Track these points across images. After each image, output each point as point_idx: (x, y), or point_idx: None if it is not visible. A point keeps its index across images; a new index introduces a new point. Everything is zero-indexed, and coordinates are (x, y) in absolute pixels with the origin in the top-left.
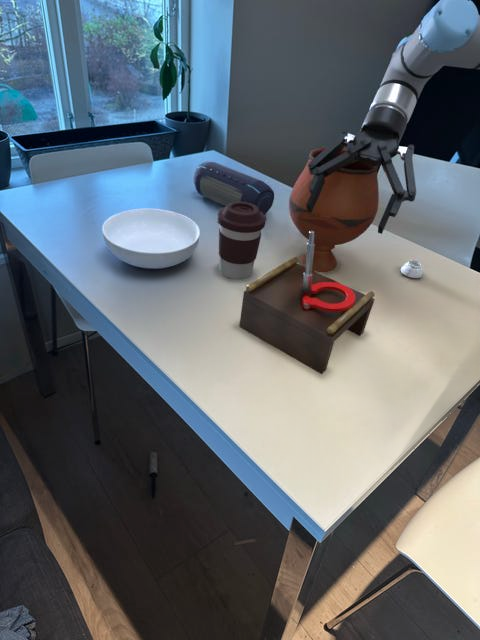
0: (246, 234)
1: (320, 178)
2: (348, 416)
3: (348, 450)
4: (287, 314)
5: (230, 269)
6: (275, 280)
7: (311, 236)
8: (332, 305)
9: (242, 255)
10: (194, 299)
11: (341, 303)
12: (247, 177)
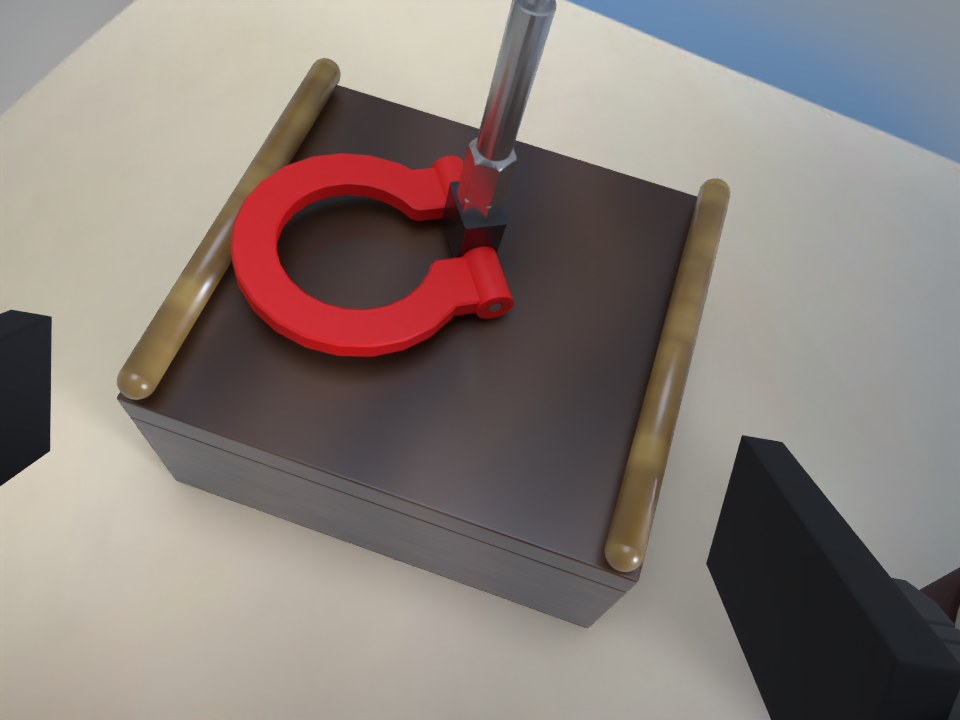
0: None
1: (892, 618)
2: (235, 88)
3: (233, 7)
4: None
5: None
6: (645, 338)
7: None
8: (337, 171)
9: (928, 586)
10: (910, 396)
11: (297, 188)
12: None
